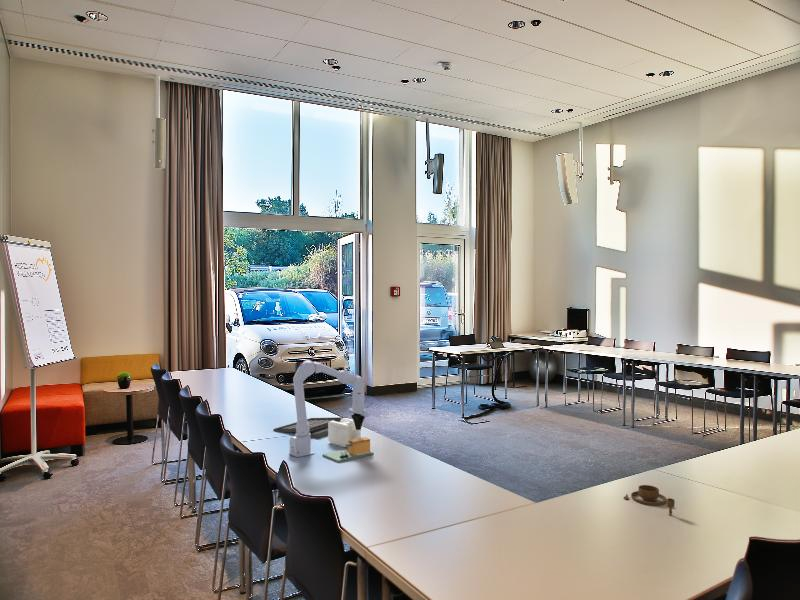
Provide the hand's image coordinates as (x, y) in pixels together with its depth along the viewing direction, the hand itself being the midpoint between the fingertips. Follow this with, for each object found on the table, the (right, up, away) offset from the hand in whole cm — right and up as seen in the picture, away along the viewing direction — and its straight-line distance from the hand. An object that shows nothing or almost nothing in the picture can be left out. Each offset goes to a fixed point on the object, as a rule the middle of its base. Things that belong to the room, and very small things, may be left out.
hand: (358, 429), depth 272 cm
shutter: (-28, -11, +45) cm, 54 cm away
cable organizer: (-8, -11, +13) cm, 19 cm away
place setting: (+111, -12, -67) cm, 130 cm away
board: (-4, -11, -7) cm, 13 cm away
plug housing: (0, -10, -7) cm, 12 cm away
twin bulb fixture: (-5, -11, -14) cm, 18 cm away
